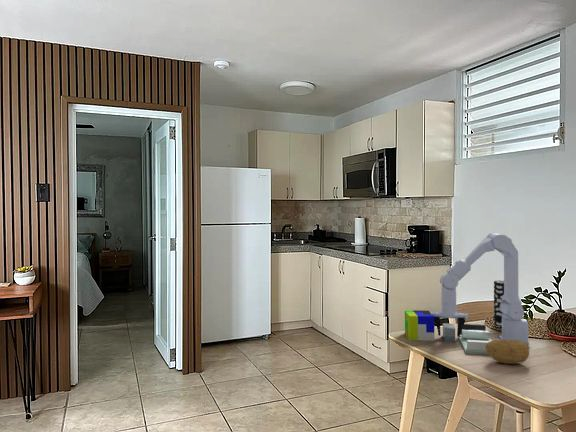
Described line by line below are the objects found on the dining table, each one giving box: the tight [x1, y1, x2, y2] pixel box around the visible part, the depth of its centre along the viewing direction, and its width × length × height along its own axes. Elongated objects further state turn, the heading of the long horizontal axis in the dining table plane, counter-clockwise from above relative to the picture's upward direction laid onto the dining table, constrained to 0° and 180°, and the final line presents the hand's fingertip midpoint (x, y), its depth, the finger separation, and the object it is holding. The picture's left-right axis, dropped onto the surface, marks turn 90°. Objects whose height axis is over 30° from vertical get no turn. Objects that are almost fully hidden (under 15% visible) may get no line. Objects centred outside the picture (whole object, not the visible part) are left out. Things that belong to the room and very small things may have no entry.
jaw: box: [460, 323, 490, 340], centre depth 184 cm, size 10×8×4 cm
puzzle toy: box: [404, 309, 435, 341], centre depth 189 cm, size 10×10×10 cm
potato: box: [485, 339, 530, 365], centre depth 157 cm, size 10×14×8 cm
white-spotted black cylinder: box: [493, 280, 504, 327], centre depth 203 cm, size 8×8×20 cm
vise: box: [458, 336, 492, 356], centre depth 174 cm, size 12×18×4 cm, turn 167°
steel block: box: [442, 322, 456, 343], centre depth 185 cm, size 4×8×6 cm, turn 167°
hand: (448, 335), depth 185 cm, fingers open, 7 cm apart
